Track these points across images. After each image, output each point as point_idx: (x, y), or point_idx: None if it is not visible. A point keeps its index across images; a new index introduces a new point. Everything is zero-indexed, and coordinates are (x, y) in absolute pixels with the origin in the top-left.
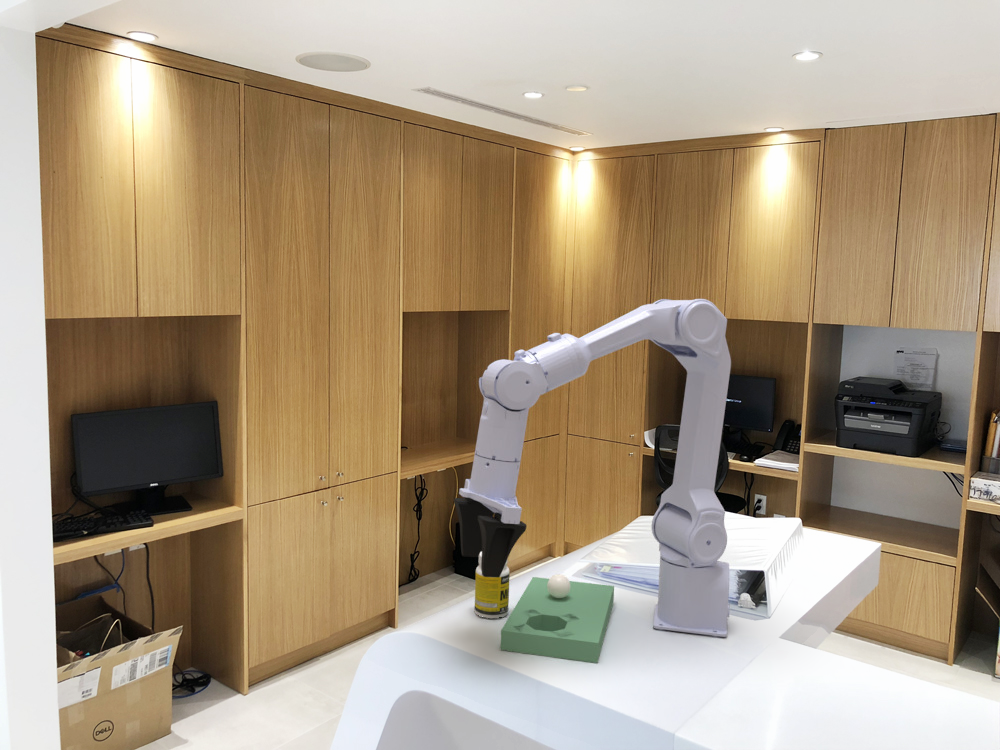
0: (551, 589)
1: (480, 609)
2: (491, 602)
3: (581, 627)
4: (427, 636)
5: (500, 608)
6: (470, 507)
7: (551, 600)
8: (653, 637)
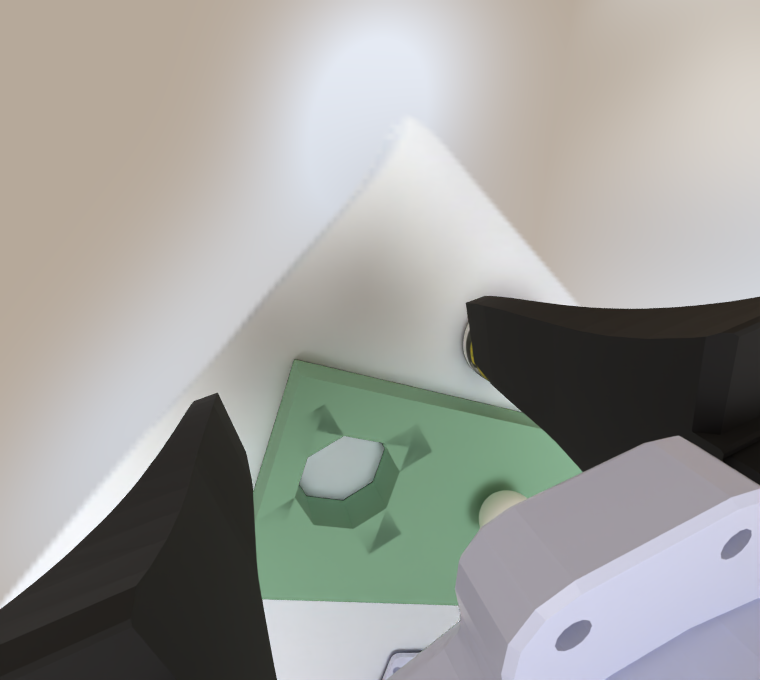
0: (493, 505)
1: None
2: None
3: (320, 559)
4: (375, 172)
5: (475, 366)
6: (673, 420)
7: (477, 489)
8: (358, 651)
